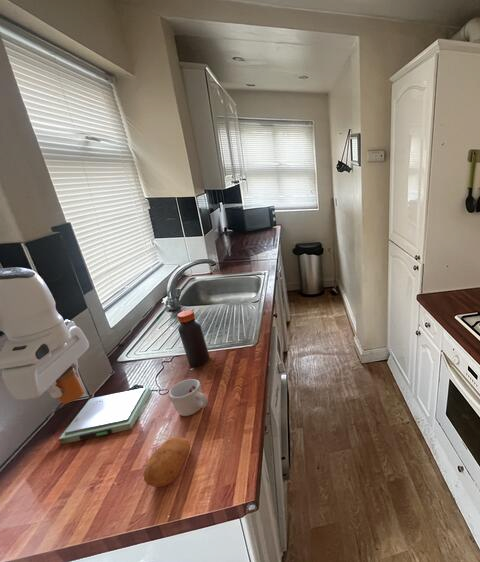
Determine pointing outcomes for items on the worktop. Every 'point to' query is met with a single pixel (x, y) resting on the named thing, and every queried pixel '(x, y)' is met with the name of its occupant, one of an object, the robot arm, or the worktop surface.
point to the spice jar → (69, 386)
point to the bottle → (192, 339)
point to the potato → (166, 462)
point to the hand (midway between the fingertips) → (66, 387)
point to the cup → (187, 397)
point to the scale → (106, 415)
